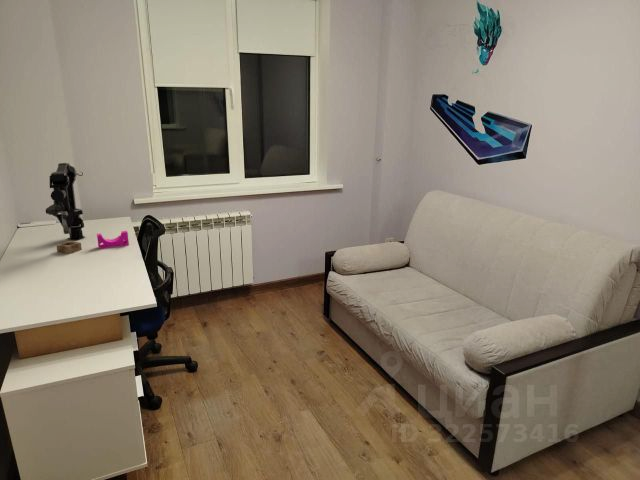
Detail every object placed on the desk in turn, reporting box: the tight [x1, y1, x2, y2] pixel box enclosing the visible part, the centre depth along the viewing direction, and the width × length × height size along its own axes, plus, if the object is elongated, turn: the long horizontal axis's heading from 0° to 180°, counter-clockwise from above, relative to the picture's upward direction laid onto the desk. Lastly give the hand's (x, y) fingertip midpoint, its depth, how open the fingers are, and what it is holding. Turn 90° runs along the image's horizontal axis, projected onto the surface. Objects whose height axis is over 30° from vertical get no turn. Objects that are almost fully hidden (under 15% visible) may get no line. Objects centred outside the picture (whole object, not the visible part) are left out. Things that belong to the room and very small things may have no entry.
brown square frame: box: [55, 240, 83, 255], centre depth 233 cm, size 8×8×4 cm
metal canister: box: [61, 214, 71, 235], centre depth 230 cm, size 3×3×10 cm
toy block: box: [96, 230, 130, 250], centre depth 243 cm, size 15×6×8 cm, turn 119°
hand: (66, 227), depth 230 cm, fingers closed on metal canister, 3 cm apart
